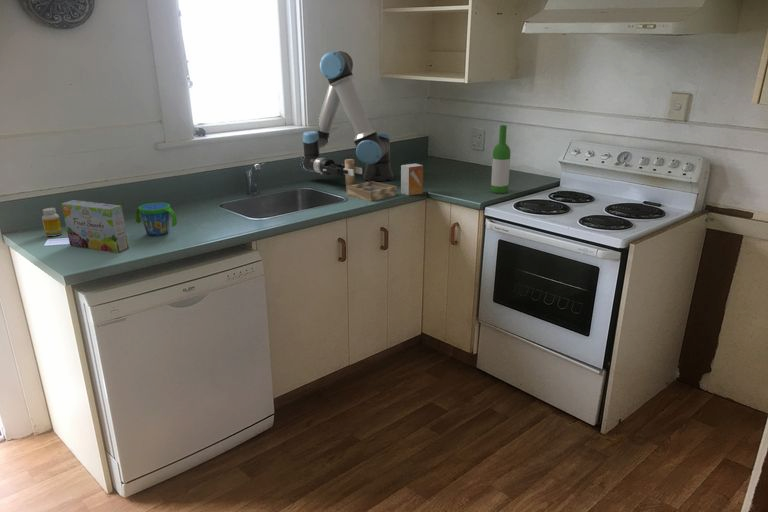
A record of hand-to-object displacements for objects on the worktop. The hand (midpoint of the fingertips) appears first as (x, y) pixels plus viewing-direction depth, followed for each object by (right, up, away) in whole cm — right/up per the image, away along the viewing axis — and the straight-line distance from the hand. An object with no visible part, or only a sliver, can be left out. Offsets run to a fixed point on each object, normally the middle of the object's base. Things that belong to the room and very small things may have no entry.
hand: (357, 171), depth 269 cm
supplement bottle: (-106, -31, -58) cm, 125 cm away
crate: (+6, -11, -3) cm, 13 cm away
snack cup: (-69, -30, -57) cm, 94 cm away
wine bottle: (+65, -9, +2) cm, 66 cm away
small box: (+25, -10, 0) cm, 27 cm away
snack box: (-84, -36, -71) cm, 115 cm away
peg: (-4, -6, +6) cm, 9 cm away
